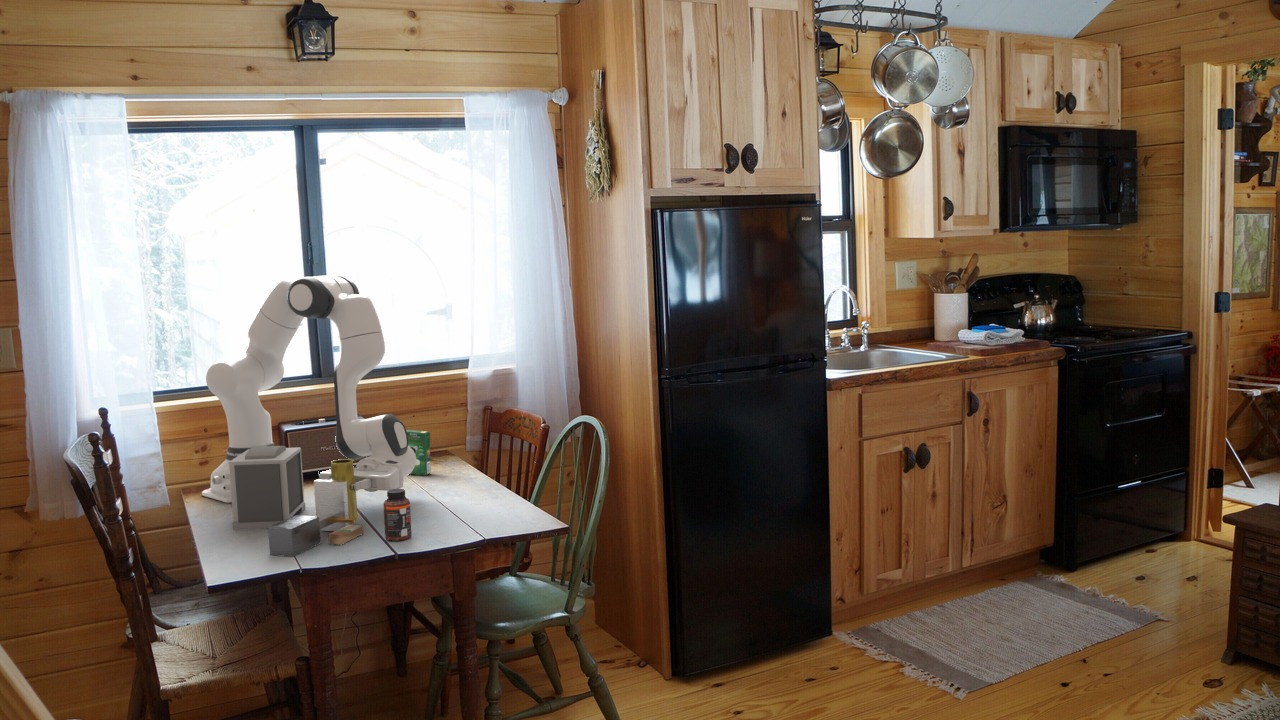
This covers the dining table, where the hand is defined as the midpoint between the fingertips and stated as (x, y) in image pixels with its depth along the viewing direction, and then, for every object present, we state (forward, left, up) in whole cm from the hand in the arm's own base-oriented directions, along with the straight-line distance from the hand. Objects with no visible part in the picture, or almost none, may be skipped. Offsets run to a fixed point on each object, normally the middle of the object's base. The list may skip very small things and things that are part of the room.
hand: (341, 486), depth 242 cm
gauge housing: (+4, -18, -10) cm, 21 cm away
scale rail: (+9, -8, -10) cm, 15 cm away
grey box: (-23, -3, -10) cm, 25 cm away
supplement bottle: (+19, -2, -10) cm, 22 cm away
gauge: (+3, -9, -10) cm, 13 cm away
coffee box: (-22, +50, -10) cm, 56 cm away
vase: (0, +1, -8) cm, 8 cm away
